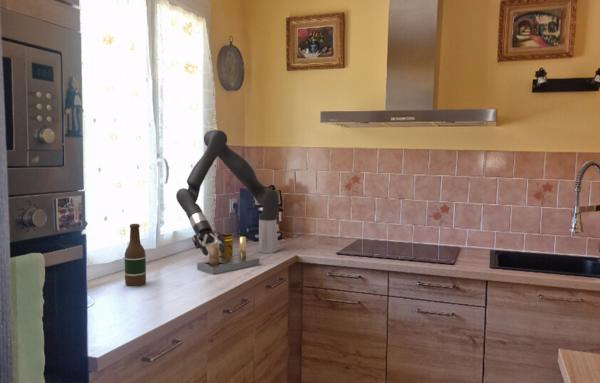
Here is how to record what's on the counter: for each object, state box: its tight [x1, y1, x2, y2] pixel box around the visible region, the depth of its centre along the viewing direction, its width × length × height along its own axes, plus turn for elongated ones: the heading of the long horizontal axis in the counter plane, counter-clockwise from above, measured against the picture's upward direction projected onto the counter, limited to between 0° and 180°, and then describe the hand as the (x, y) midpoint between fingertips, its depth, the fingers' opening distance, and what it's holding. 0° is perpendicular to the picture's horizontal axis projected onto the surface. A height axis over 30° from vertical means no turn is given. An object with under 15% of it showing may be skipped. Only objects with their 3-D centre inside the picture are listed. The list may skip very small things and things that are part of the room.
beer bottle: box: [124, 223, 147, 287], centre depth 185 cm, size 8×8×24 cm
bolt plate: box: [196, 236, 260, 275], centre depth 215 cm, size 26×12×13 cm, turn 136°
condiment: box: [219, 232, 234, 259], centre depth 236 cm, size 7×8×12 cm
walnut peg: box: [208, 242, 220, 266], centre depth 210 cm, size 4×4×12 cm
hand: (215, 253), depth 209 cm, fingers open, 8 cm apart
